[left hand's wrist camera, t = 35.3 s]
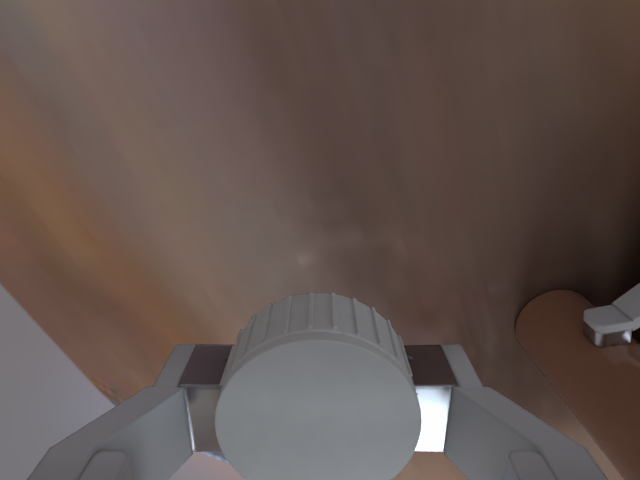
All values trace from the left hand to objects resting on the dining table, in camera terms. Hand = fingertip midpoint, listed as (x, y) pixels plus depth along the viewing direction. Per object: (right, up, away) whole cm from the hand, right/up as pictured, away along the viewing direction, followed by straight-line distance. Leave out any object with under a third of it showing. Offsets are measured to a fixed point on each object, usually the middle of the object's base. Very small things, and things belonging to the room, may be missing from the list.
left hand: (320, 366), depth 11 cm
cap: (0, -1, -2) cm, 2 cm away
